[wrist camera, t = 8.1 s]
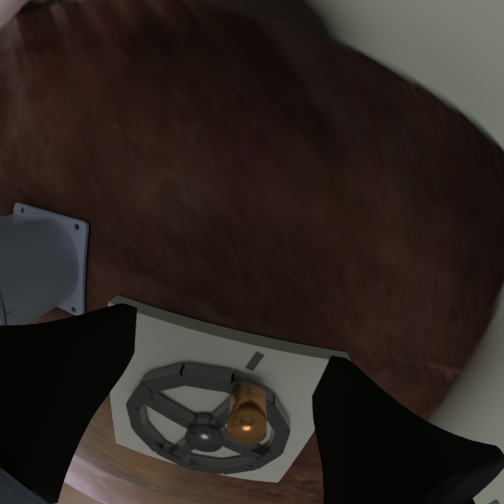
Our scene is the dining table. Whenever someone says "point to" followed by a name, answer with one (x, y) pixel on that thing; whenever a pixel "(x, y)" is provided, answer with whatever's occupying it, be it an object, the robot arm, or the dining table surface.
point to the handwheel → (212, 419)
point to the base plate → (208, 401)
